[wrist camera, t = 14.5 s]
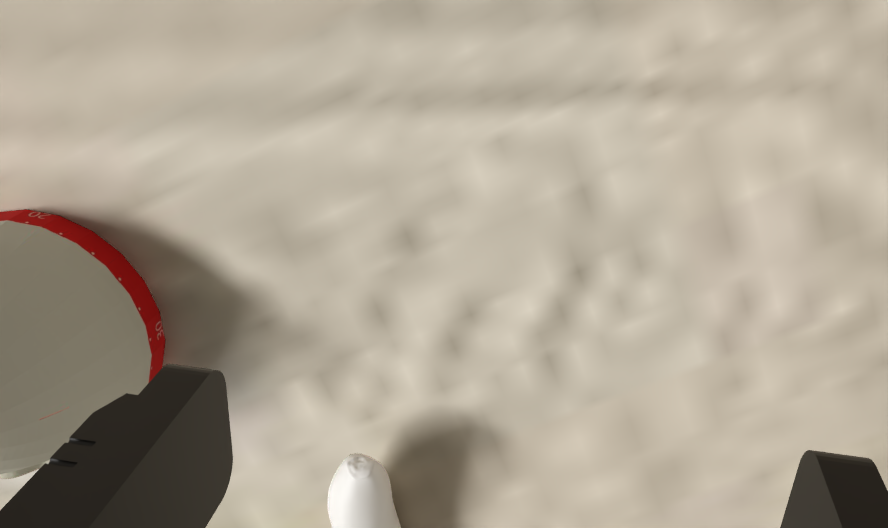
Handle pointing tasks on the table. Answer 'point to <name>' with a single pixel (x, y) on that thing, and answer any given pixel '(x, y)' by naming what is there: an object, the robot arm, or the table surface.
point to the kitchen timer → (66, 334)
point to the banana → (361, 495)
